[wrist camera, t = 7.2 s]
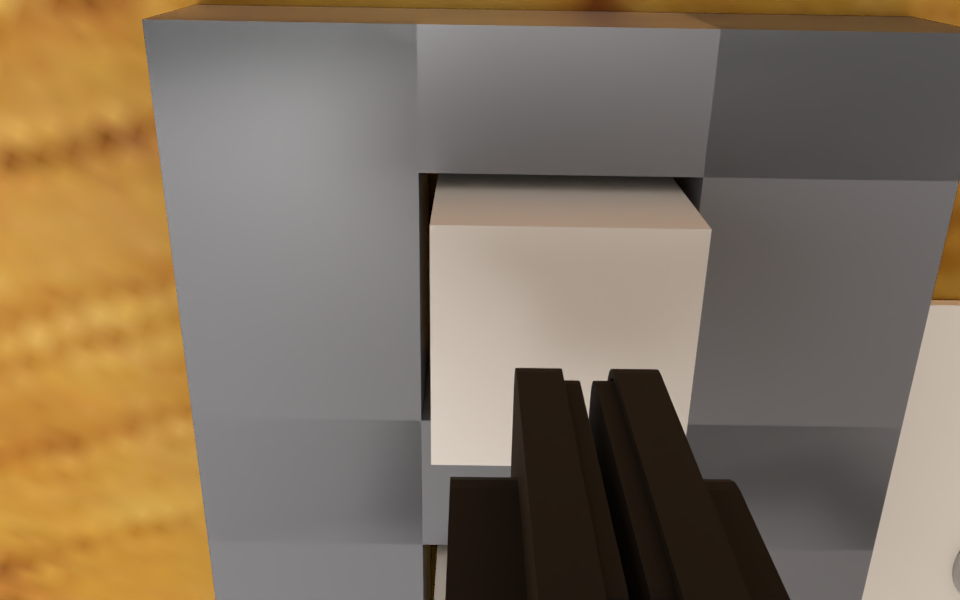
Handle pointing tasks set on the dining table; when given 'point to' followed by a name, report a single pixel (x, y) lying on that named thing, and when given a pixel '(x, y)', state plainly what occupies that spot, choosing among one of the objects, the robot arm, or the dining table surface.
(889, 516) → the pattern card
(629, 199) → the button
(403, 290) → the button board
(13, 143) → the dining table surface
